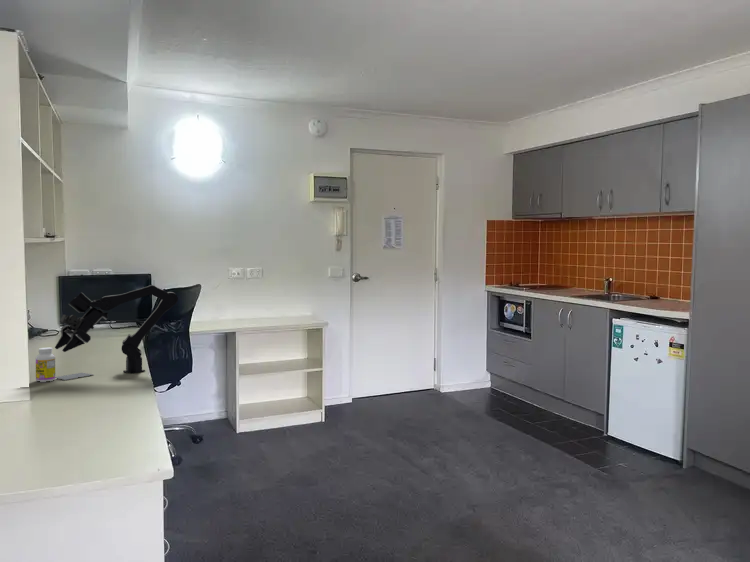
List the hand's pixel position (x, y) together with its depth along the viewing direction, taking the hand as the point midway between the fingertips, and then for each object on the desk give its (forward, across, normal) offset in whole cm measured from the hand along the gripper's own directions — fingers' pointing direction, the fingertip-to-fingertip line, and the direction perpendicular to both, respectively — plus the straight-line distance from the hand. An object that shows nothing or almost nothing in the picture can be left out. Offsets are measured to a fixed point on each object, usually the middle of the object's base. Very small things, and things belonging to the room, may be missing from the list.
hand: (59, 349), depth 222 cm
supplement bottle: (+12, 0, +5) cm, 13 cm away
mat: (+4, 0, +12) cm, 13 cm away
